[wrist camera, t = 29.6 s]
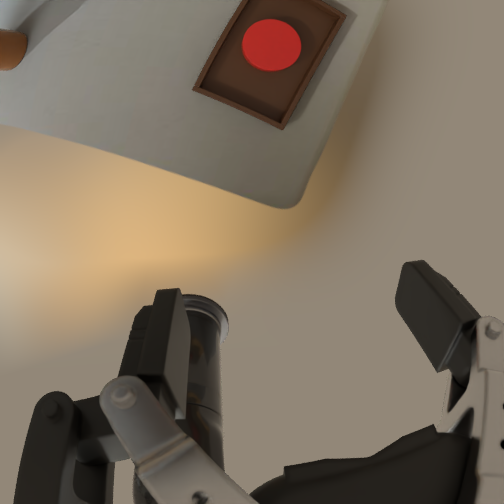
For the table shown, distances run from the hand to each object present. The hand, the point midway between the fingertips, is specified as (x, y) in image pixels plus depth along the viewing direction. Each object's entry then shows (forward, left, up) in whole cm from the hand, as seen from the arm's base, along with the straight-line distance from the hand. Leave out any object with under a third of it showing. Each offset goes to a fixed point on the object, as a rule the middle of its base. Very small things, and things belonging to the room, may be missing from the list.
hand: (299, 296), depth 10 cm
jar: (+3, +38, -28) cm, 47 cm away
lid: (+13, +3, -26) cm, 29 cm away
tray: (+13, +3, -28) cm, 31 cm away
